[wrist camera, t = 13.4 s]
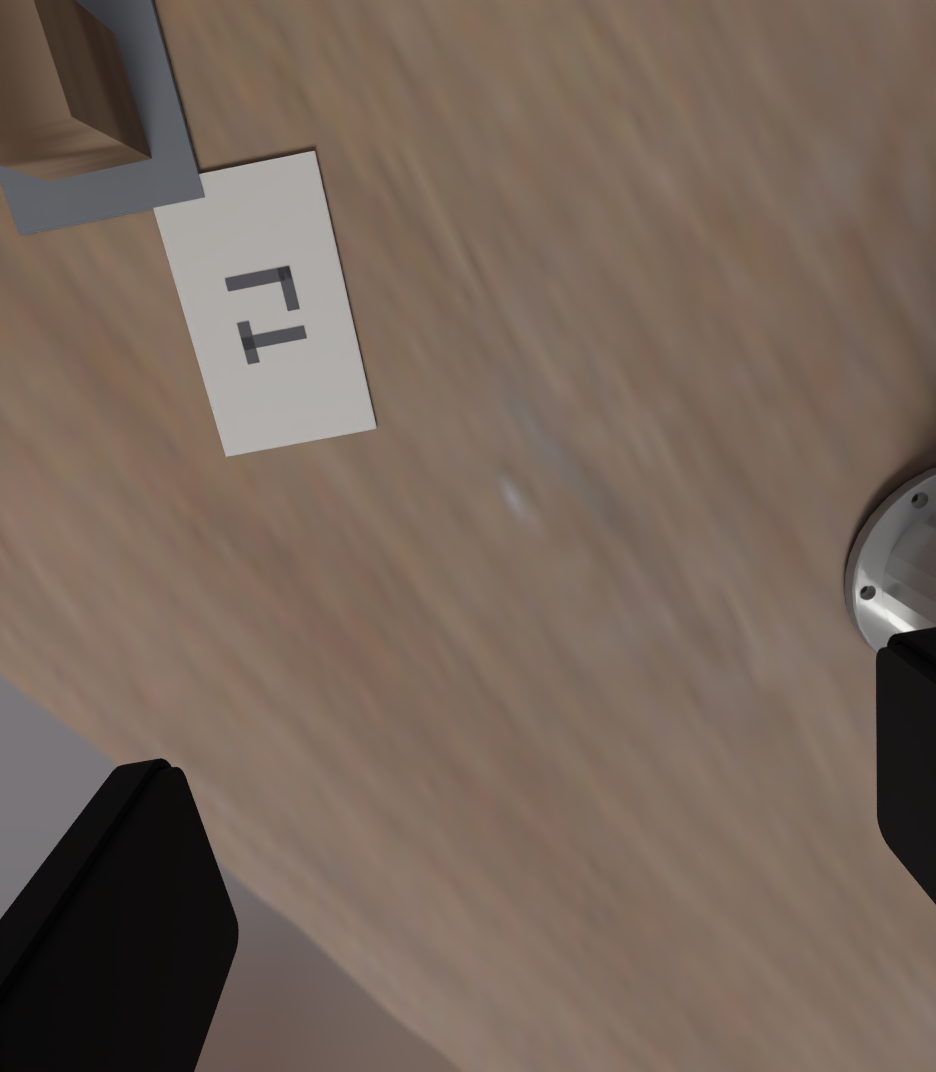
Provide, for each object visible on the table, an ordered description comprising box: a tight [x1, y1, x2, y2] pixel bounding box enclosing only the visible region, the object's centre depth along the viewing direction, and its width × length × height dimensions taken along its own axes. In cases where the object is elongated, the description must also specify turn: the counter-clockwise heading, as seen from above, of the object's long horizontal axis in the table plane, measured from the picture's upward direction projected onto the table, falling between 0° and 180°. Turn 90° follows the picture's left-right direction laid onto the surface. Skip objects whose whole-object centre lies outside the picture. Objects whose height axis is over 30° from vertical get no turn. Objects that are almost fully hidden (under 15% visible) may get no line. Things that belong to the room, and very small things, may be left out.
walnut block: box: [0, 0, 152, 181], centre depth 28 cm, size 5×5×7 cm
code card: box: [153, 151, 377, 457], centre depth 34 cm, size 8×13×1 cm, turn 10°
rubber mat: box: [0, 0, 205, 235], centre depth 31 cm, size 9×9×1 cm
